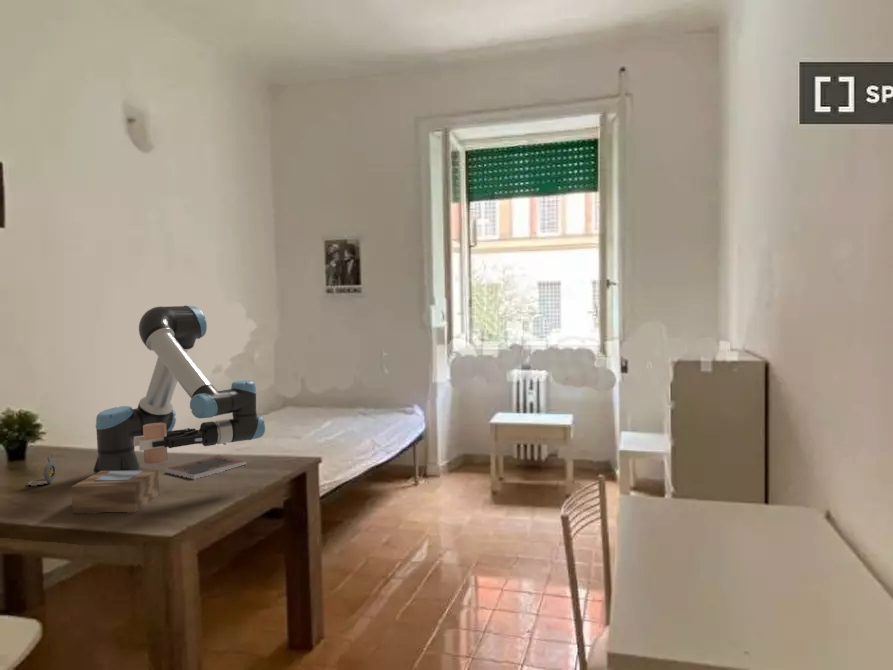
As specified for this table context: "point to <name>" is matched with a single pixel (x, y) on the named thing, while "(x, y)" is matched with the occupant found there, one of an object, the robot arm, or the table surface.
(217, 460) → the picture frame
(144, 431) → the terracotta cylinder
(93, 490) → the walnut box
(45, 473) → the pocket watch
